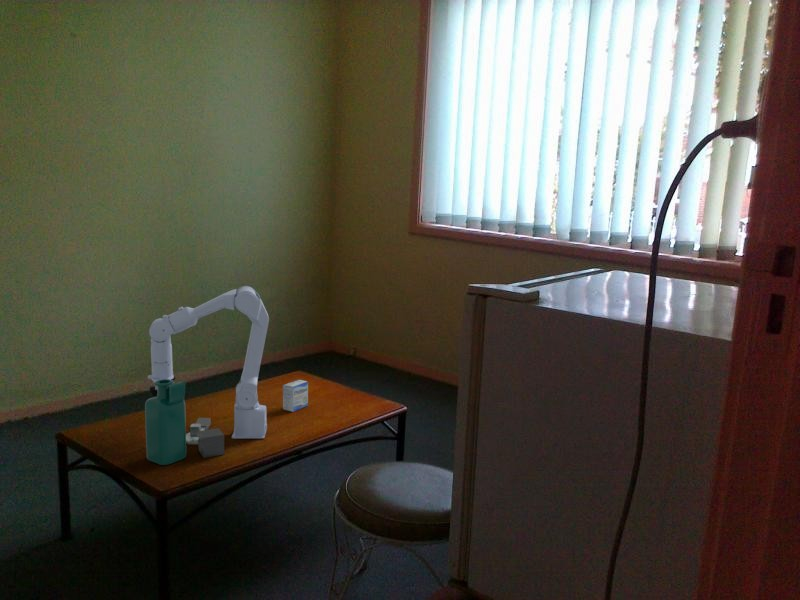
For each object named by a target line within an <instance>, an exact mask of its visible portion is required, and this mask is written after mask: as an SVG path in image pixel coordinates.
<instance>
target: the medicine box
mask: <svg viewBox="0 0 800 600" xmlns="http://www.w3.org/2000/svg"><path fill="white" fill-rule="evenodd" d="M308 404H309V382H308V381H307V380H303V379H296V380H294V381H292V382H291V381H290V382H288V383H286V384H283V385H282V410H284V411H288V412H291V413H294V412H297V411H299V410H301V409H303V408H306V407H308V406H309V405H308Z"/></svg>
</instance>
